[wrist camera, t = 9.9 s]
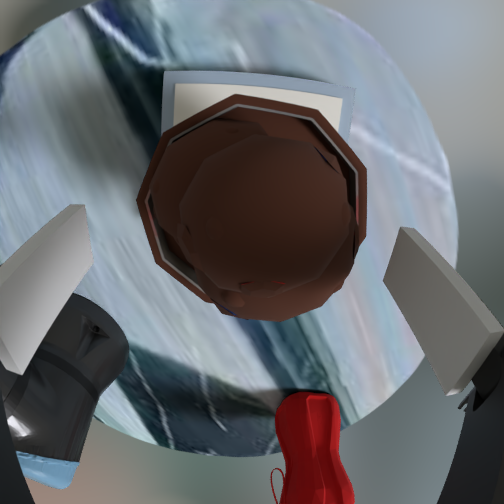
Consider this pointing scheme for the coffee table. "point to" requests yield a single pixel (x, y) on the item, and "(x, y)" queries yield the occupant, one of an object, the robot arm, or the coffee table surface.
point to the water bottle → (311, 451)
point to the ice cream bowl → (255, 207)
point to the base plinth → (252, 84)
